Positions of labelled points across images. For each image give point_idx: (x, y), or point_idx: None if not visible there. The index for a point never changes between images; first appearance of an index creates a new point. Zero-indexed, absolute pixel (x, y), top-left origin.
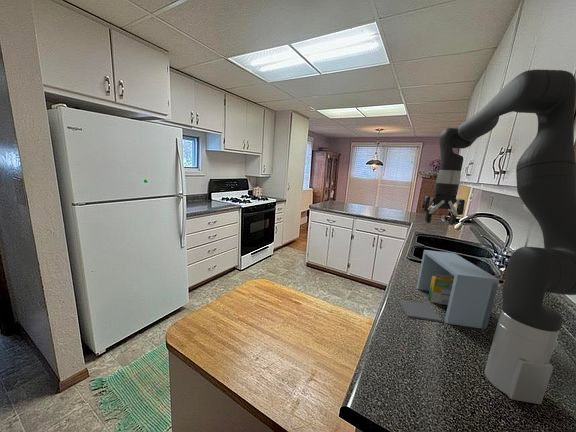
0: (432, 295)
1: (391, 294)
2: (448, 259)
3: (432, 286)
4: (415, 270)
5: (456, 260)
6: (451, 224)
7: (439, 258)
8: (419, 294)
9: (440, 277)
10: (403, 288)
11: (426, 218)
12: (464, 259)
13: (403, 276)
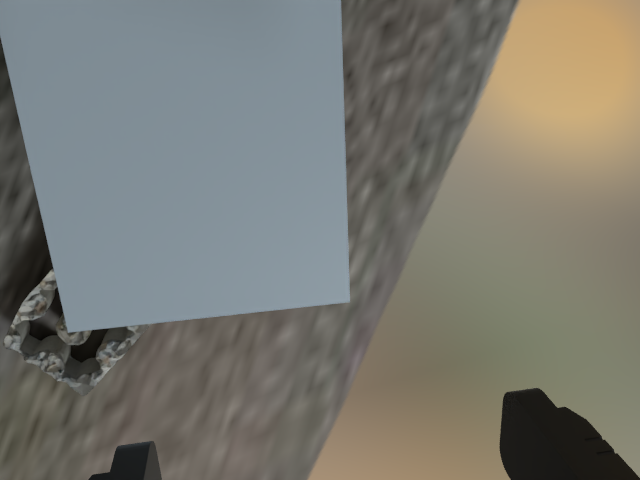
0: None
1: (483, 48)
2: (218, 78)
3: None
4: (228, 447)
5: (142, 80)
6: (151, 445)
7: (304, 71)
8: None
9: None
10: (386, 156)
11: (601, 450)
12: (37, 157)
13: (333, 327)
